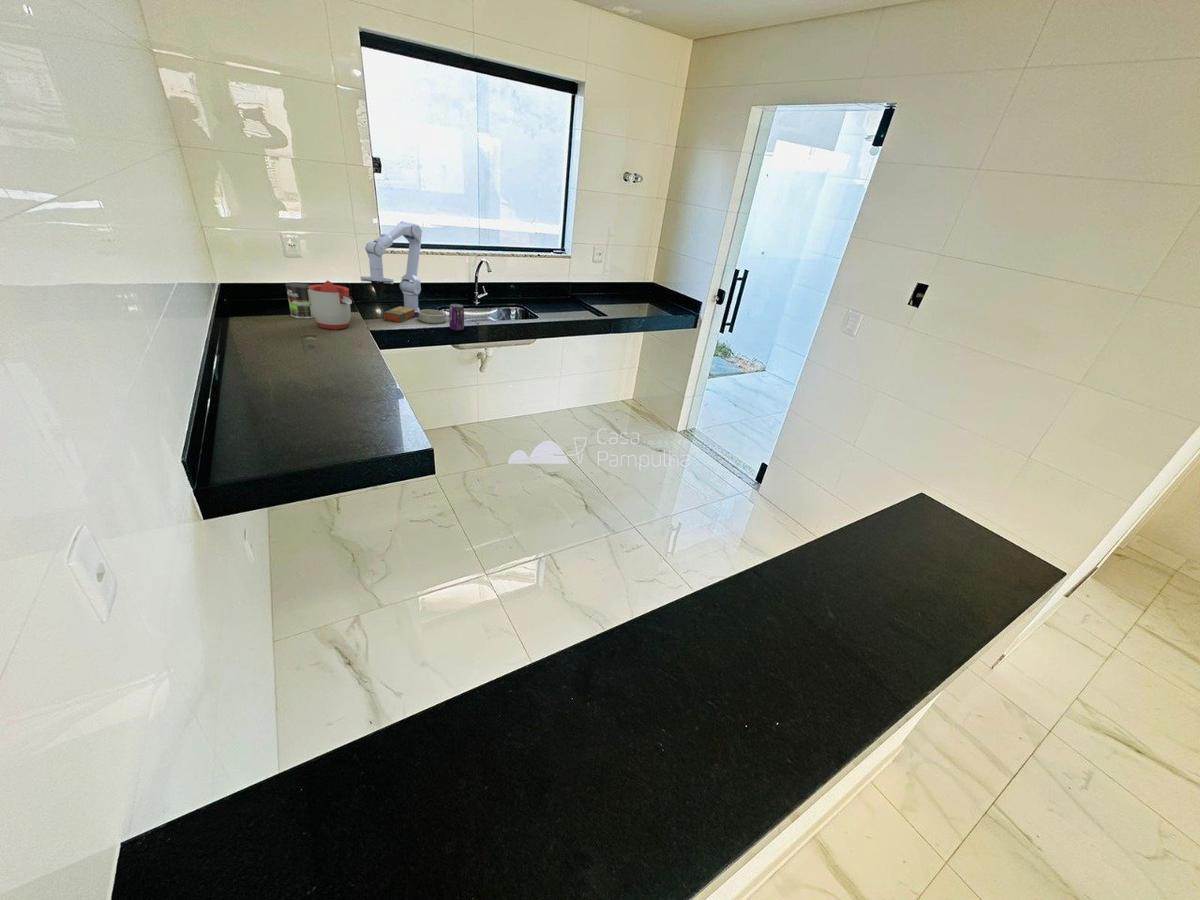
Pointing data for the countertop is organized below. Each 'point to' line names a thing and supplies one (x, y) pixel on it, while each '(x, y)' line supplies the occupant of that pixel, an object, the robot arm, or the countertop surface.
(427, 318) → the beige round dish
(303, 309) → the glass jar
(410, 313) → the carton
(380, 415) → the countertop surface
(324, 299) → the citrus juicer
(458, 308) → the beverage can
